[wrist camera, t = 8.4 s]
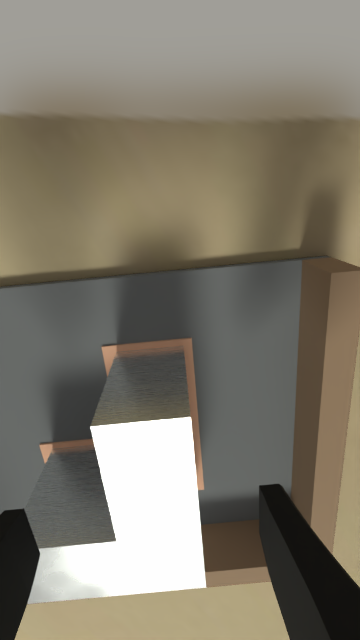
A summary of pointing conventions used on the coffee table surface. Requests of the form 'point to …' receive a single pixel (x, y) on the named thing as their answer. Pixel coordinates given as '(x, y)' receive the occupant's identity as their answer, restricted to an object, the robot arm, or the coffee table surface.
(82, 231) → the coffee table surface
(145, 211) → the coffee table surface
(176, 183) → the coffee table surface
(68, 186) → the coffee table surface
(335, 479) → the arena
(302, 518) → the robot arm
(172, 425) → the l block
